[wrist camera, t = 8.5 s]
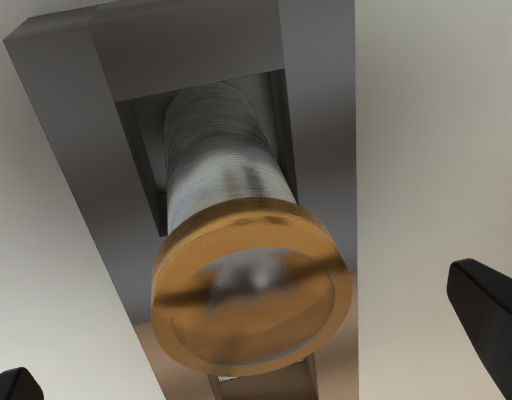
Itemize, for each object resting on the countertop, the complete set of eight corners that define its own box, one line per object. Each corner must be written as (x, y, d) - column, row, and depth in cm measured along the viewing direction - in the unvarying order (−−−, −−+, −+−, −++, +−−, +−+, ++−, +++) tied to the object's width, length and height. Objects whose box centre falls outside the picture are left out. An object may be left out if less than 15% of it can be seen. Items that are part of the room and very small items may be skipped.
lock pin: (285, 109, 18) (392, 279, 10) (224, 189, 20) (272, 393, 11) (193, 47, 16) (231, 194, 8) (133, 141, 18) (111, 346, 9)
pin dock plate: (341, 373, 29) (358, 417, 26) (190, 412, 28) (193, 460, 26) (322, -37, 15) (354, -26, 13) (28, 17, 15) (2, 40, 12)
